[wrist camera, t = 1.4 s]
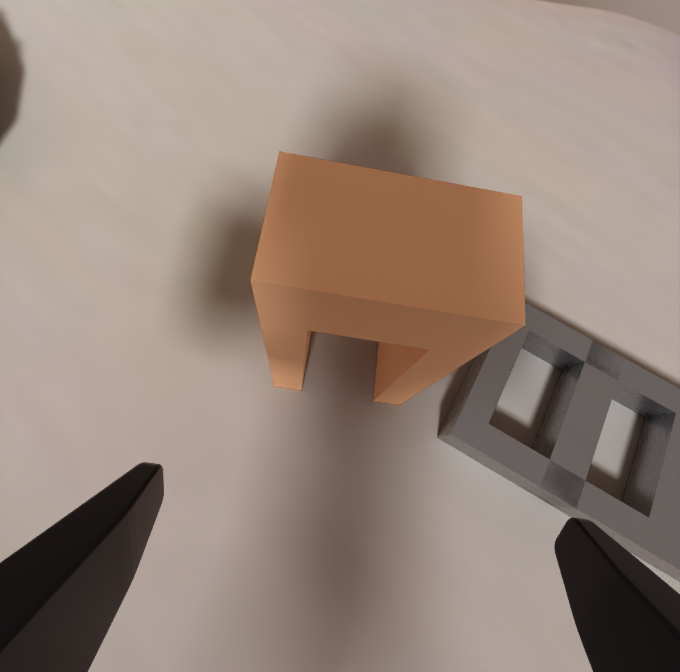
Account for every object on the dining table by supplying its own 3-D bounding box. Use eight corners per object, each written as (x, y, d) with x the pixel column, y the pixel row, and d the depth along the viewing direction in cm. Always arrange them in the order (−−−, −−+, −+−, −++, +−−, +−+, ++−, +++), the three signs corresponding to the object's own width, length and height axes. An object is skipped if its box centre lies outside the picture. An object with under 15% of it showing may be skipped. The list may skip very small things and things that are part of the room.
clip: (404, 338, 24) (521, 196, 12) (398, 405, 22) (525, 324, 10) (286, 319, 23) (279, 151, 11) (274, 386, 22) (250, 280, 10)
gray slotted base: (799, 479, 24) (843, 480, 22) (778, 640, 21) (827, 657, 19) (497, 309, 25) (514, 296, 23) (437, 437, 22) (451, 434, 20)
